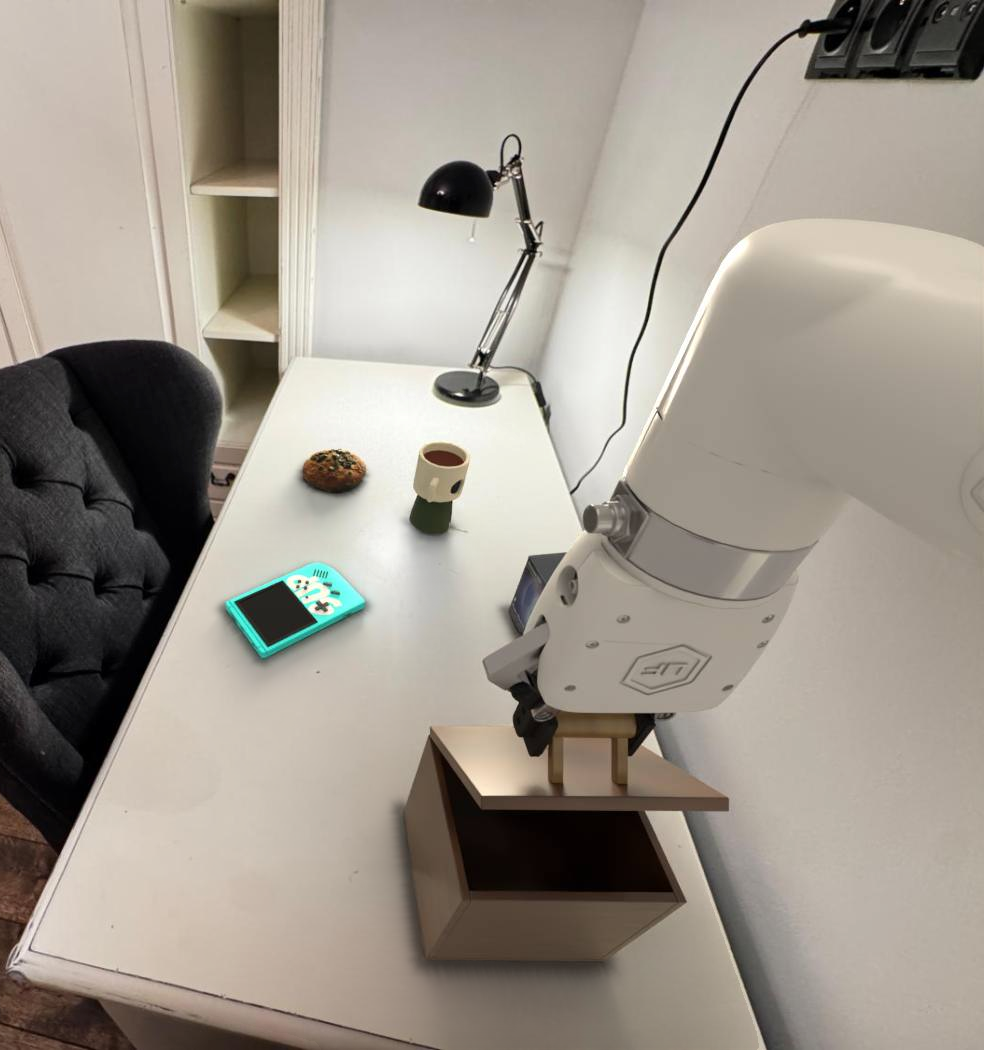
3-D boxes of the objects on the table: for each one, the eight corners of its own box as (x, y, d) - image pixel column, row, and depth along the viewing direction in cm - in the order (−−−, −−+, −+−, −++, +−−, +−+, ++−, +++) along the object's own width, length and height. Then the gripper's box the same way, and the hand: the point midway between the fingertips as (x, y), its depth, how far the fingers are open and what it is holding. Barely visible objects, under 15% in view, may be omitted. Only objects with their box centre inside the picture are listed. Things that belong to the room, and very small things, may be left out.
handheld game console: (366, 608, 75) (367, 601, 74) (262, 661, 69) (262, 654, 68) (323, 563, 82) (323, 556, 81) (224, 608, 75) (223, 601, 74)
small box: (503, 610, 75) (525, 552, 68) (550, 606, 76) (577, 548, 69) (539, 678, 67) (568, 620, 60) (591, 673, 68) (626, 615, 61)
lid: (729, 812, 34) (729, 716, 34) (481, 810, 34) (481, 714, 34) (612, 737, 46) (612, 667, 46) (429, 736, 46) (429, 665, 46)
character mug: (443, 552, 84) (461, 481, 75) (396, 538, 86) (409, 467, 77) (459, 510, 91) (477, 441, 83) (416, 498, 93) (429, 430, 85)
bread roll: (323, 500, 92) (324, 473, 90) (290, 474, 101) (289, 448, 98) (378, 483, 97) (380, 456, 94) (342, 459, 105) (343, 434, 102)
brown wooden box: (604, 961, 46) (688, 902, 37) (425, 959, 46) (462, 900, 37) (553, 813, 55) (610, 735, 46) (403, 812, 55) (428, 734, 46)
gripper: (541, 586, 23) (455, 793, 35) (959, 585, 23) (733, 792, 35) (490, 480, 29) (430, 687, 41) (824, 479, 29) (669, 687, 41)
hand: (571, 734), depth 38 cm, fingers closed on lid, 5 cm apart
